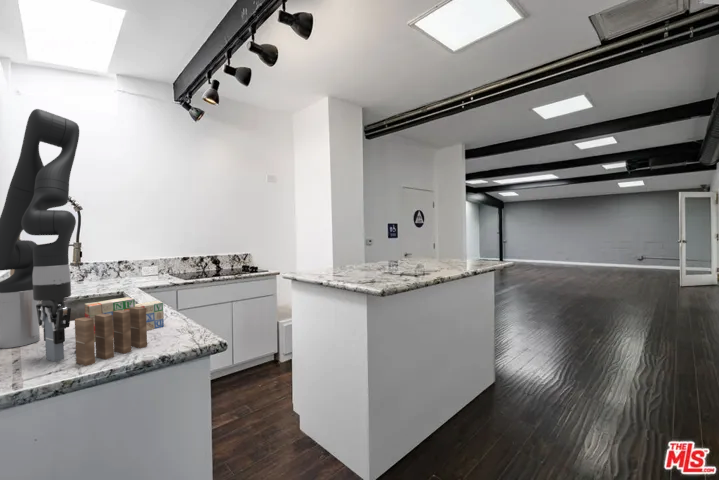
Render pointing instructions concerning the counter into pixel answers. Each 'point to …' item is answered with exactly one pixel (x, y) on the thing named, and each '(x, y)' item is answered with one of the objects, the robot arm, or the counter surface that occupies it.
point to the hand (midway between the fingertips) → (54, 341)
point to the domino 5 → (138, 327)
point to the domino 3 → (104, 336)
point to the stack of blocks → (107, 307)
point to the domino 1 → (52, 344)
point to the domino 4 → (122, 331)
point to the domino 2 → (84, 341)
